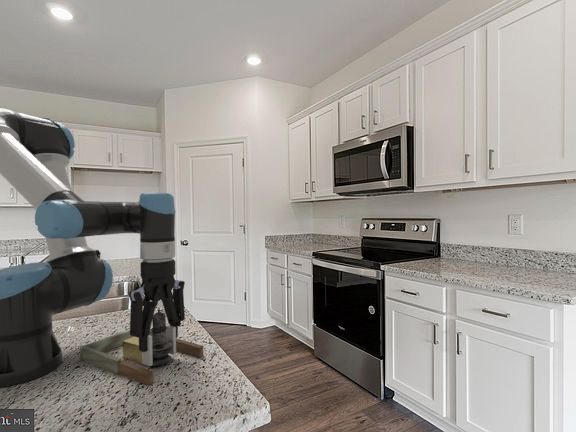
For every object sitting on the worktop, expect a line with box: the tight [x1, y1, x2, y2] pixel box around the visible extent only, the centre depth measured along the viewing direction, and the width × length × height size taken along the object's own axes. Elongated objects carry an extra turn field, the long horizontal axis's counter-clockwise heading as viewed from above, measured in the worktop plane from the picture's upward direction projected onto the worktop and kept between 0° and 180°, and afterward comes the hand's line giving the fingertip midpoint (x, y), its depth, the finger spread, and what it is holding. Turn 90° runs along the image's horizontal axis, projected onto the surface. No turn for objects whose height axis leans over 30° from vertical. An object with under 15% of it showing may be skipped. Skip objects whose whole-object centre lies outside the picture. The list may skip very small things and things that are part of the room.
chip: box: [122, 337, 139, 361], centre depth 80 cm, size 4×4×4 cm
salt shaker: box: [150, 308, 173, 366], centre depth 76 cm, size 6×6×12 cm
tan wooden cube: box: [132, 342, 142, 364], centre depth 78 cm, size 4×4×4 cm
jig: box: [79, 328, 204, 386], centre depth 79 cm, size 16×25×3 cm, turn 60°
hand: (159, 358), depth 76 cm, fingers closed on salt shaker, 6 cm apart
